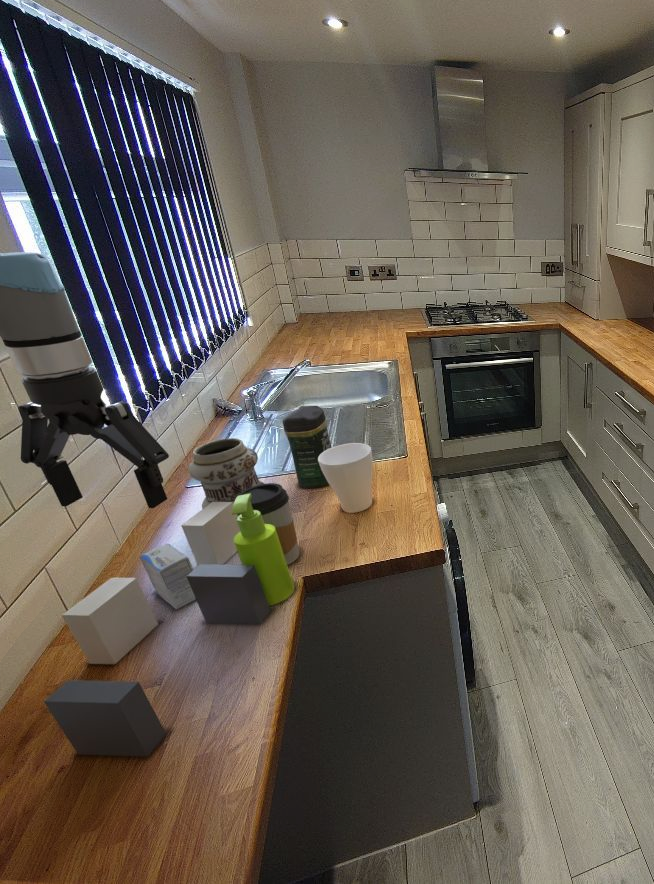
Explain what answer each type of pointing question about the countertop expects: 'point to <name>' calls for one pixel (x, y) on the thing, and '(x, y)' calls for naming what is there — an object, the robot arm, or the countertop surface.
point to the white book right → (212, 533)
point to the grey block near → (106, 717)
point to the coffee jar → (307, 443)
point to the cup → (349, 474)
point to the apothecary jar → (224, 469)
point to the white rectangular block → (111, 620)
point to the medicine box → (169, 574)
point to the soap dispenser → (262, 550)
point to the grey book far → (229, 593)
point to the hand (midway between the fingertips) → (115, 502)
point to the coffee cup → (276, 515)
